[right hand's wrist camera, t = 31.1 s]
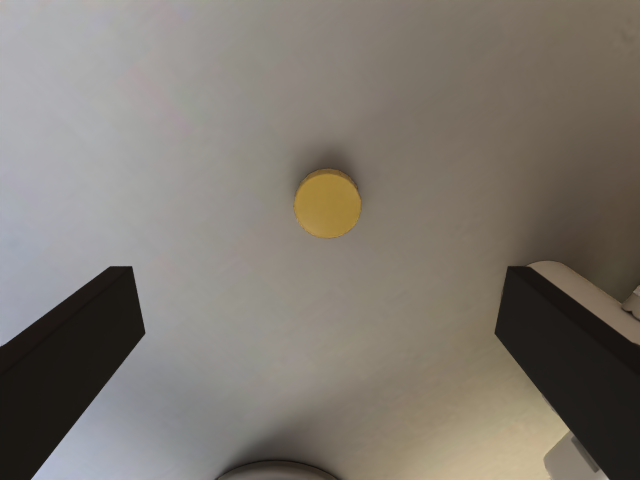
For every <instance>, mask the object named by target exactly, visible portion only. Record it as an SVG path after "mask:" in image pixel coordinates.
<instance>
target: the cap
mask: <svg viewBox="0 0 640 480" xmlns="http://www.w3.org/2000/svg"><path fill="white" fill-rule="evenodd" d="M294 211H295V215H296V218H297V220H298V222H299V224H300V225H301V226H302V227H303V228H304V229H305V230H306V231H307V232H308V233H310V234H312V235H314V236H317V237H320V238H335V237H338V236H341V235H343V234H345V233H347V232H348V231H349V230H350V229H351V228H352V227H353V226H354V225H355V224H356V222H357V220H358V218H359V215H360V211H361V197H360V195H359V193H358V191H357V186H356V184H354V182H353V181H352V180H351V179H350V177H349V176H347V175H346V174H344V173H343V172H341V171H340V170H339V171H338V170H334V169H330V168H328V169H321V170H319V169H318V170H317V171H315V172H313V173H311V174H308V176H307V177H306V178H305V179H304V180H303V181H301V182H300V186H299V188H298V191H296V194H295V202H294Z"/></svg>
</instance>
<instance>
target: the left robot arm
mask: <svg viewBox="0 0 640 480" xmlns="http://www.w3.org/2000/svg"><path fill="white" fill-rule="evenodd" d="M621 307H622V308H623V309H624V310H626V311H628V312H630V313H632V314H633V316H634V317H636V318H637V319H639V320H640V285H639V286H638V287H637V288H636V289H635V291H634V292H633V293H632V294H631V295H630V296H629V297H628V298H627V300H626V301H625V302H624V303H623V304H622V305H621ZM542 396H543V395H542ZM543 398H544V399H545V401H546V402H547V403H548V405H549V406H550V407H551V409H552V410H553V411H554V412H555V413H556V414H557V412H556V411H555V410H554V409H553V407H552V406H551V405H550V403H549V402H548V401H547V400H546V398H545V397H544V396H543ZM557 415H558V414H557ZM544 465H545V467H546V470H547V473H548V475H549V477H550V479H551V480H609V479H608V477H607V476H606V475H605V474H604V472H603V471H602V470H601V469H600V467H599V466H598V465H597V463H596V462H595V461H594V460H593V458H592V457H591V456H590V455H589V453H588V452H587V451H586V449H585V448H584V447H583V446H582V444H581V443H580V442H579V440H578V439H577V438H576V437H575V435H574V434H573V433H572V432H571V430H570V431H569V432H568V433H567V434H566V435H565V436H564V437H563V438H562V439H561V440H560V441H559V442H558V443H557V444H556V445H555V446H554V447H553V448H552V449H551V450H550V451H549V452H548V453H547V454H546V455H545V457H544Z"/></svg>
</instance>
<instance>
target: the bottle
mask: <svg viewBox="0 0 640 480" xmlns="http://www.w3.org/2000/svg"><path fill="white" fill-rule="evenodd" d="M527 266H530V267H531V268H533V269H534V270H535V271H537V272H538V273H539V274H541V275H542V276H544V277H545V278H546V279H548V280H549V281H550V282H552V283H553V284H554V285H556V286H557V287H558V288H560V289H561V290H562V291H564V292H565V293H566V294H568V295H569V296H570V297H572V298H573V299H575V300H576V301H577V302H579V303H580V304H581V305H583V306H584V307H585V308H587V309H588V310H589V311H591V312H592V313H593V314H595V315H596V316H597V317H599V318H600V319H601V320H603V321H604V322H606V323H607V324H608V325H610V326H611V327H612V328H614V329H615V330H616V331H618V332H619V333H620V334H622V335H623V336H624V337H626V338H627V339H628V340H630V341H631V342H632V343H636V344H638V345H640V320H639V319H637V318H636V317H634V316H633V314H632V313H630V312H628V311H626V310H624V309H623V308H622V307H621V305H622V303H620V302H619V301H617V300H616V299H614V298H613V297H612V296H610V295H609V294H607V293H606V292H604V291H603V290H601V289H600V288H598V287H597V286H595V285H594V284H593V283H591V282H590V281H588V280H587V279H585V278H584V277H582V276H581V275H579V274H578V273H576V272H575V271H574V270H572V269H571V268H569V267H568V266H566V265H564V264H562V263H559V262H555V261H539V262H535V263H532V264H529V265H527ZM502 293H503V291H502ZM501 298H502V296H501Z"/></svg>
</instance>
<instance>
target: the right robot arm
mask: <svg viewBox="0 0 640 480" xmlns="http://www.w3.org/2000/svg"><path fill="white" fill-rule="evenodd" d="M144 335H145V328H144V323H143V318H142V313H141V308H140V303H139V298H138V293H137V288H136V283H135V278H134V273H133V268H132V266H110V267H109V268H107V269H106V270H105V271H103V272H102V273H101V274H99V275H98V276H96V277H95V278H94V279H92V280H91V281H90V282H88V283H87V284H86V285H84V286H83V287H82V288H80V289H79V290H78V291H76V292H75V293H74V294H72V295H71V296H70V297H68V298H67V299H65V300H64V301H63V302H61V303H60V304H59V305H57V306H56V307H55V308H53V309H52V310H51V311H49V312H48V313H47V314H45V315H44V316H43V317H41V318H40V319H39V320H37V321H36V322H34V323H33V324H32V325H30V326H29V327H28V328H26V329H25V330H24V331H22V332H21V333H20V334H18V335H17V336H16V337H14V338H13V339H12V340H10V341H9V342H8V343H6V344H5V345H3V346H1V347H0V480H31V479H32V477H33V476H34V475H35V474H36V472H37V471H38V470H39V469H40V467H41V466H42V465H43V463H44V462H45V461H46V460H47V458H48V457H49V456H50V454H51V453H52V452H53V451H54V449H55V448H56V447H57V446H58V444H59V443H60V442H61V440H62V439H63V438H64V437H65V435H66V434H67V433H68V432H69V430H70V429H71V428H72V426H73V425H74V424H75V423H76V421H77V420H78V419H79V418H80V416H81V415H82V414H83V412H84V411H85V410H86V409H87V407H88V406H89V405H90V403H91V402H92V401H93V400H94V398H95V397H96V396H97V395H98V393H99V392H100V391H101V389H102V388H103V387H104V386H105V384H106V383H107V382H108V381H109V379H110V378H111V377H112V375H113V374H114V373H115V372H116V370H117V369H118V368H119V366H120V365H121V364H122V363H123V361H124V360H125V359H126V358H127V356H128V355H129V354H130V352H131V351H132V350H133V349H134V347H135V346H136V345H137V344H138V342H139V341H140V340H141V338H142V337H143V336H144ZM495 335H496V336H497V337H498V338H499V340H500V341H501V342H502V344H503V345H504V346H505V347H506V349H507V350H508V351H509V352H510V354H511V355H512V356H513V358H514V359H515V360H516V361H517V363H518V364H519V365H520V366H521V368H522V369H523V370H524V372H525V373H526V374H527V375H528V377H529V378H530V379H531V381H532V382H533V383H534V384H535V386H536V387H537V388H538V389H539V391H540V392H541V393H542V395H543V396H544V397H545V398H546V400H547V401H548V402H549V403H550V405H551V406H552V407H553V409H554V410H555V411H556V412H557V414H558V415H559V416H560V418H561V419H562V420H563V421H564V423H565V424H566V425H567V426H568V428H569V429H570V430H571V432H572V433H573V434H574V435H575V437H576V438H577V439H578V440H579V442H580V443H581V444H582V446H583V447H584V448H585V449H586V451H587V452H588V453H589V455H590V456H591V457H592V458H593V460H594V461H595V462H596V463H597V465H598V466H599V467H600V469H601V470H602V471H603V472H604V474H605V475H606V476H607V477H608V479H609V480H640V345H638V344H636V343H632V342H631V341H630V340H628V339H627V338H626V337H624V336H623V335H622V334H620V333H619V332H618V331H616V330H615V329H614V328H612V327H611V326H610V325H608V324H607V323H606V322H604V321H603V320H601V319H600V318H599V317H597V316H596V315H595V314H593V313H592V312H591V311H589V310H588V309H587V308H585V307H584V306H583V305H581V304H580V303H579V302H577V301H576V300H575V299H573V298H572V297H570V296H569V295H568V294H566V293H565V292H564V291H562V290H561V289H560V288H558V287H557V286H556V285H554V284H553V283H552V282H550V281H549V280H548V279H546V278H545V277H544V276H542V275H541V274H539V273H538V272H537V271H535V270H534V269H533V268H531V267H530V266H508V268H507V273H506V278H505V283H504V288H503V293H502V298H501V303H500V308H499V313H498V318H497V323H496V328H495ZM217 480H337V479H336V478H334V477H333V476H331V475H329V474H328V473H326V472H324V471H321V470H319V469H317V468H314V467H311V466H308V465H304V464H300V463H294V462H286V461H265V462H257V463H251V464H247V465H244V466H241V467H238V468H235V469H233V470H231V471H229V472H227V473H225V474H224V475H222V476H221V477H220V478H218V479H217Z"/></svg>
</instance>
